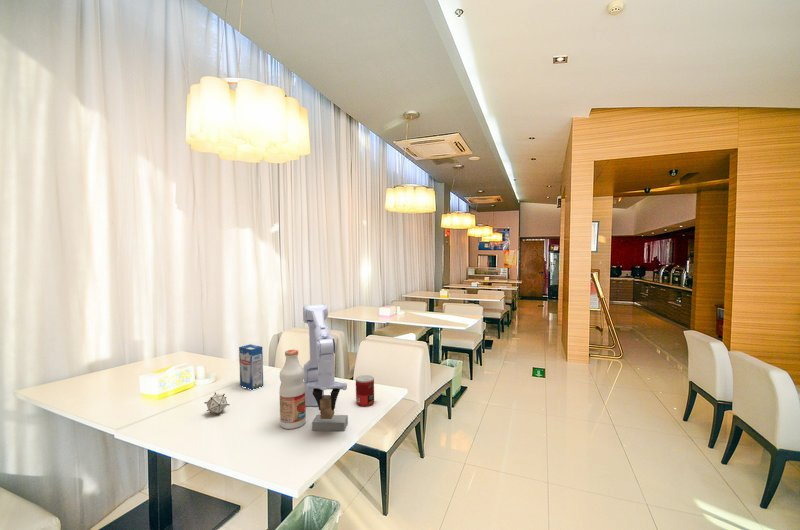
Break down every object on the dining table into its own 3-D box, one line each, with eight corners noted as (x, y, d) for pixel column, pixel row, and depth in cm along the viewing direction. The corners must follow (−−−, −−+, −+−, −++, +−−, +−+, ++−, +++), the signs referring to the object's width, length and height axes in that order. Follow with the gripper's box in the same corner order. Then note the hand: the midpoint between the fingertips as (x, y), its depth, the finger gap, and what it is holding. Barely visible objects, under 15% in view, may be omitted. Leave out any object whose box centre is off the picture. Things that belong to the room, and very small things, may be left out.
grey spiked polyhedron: (223, 420, 142) (238, 400, 143) (206, 422, 134) (222, 400, 135) (212, 406, 146) (226, 386, 147) (195, 407, 138) (211, 386, 139)
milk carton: (263, 386, 170) (262, 346, 169) (252, 390, 164) (251, 349, 164) (251, 382, 175) (250, 344, 175) (240, 386, 170) (238, 347, 169)
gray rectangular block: (312, 430, 125) (312, 422, 125) (317, 422, 131) (316, 414, 131) (344, 430, 125) (344, 422, 125) (347, 422, 131) (347, 415, 131)
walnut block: (320, 418, 122) (319, 399, 122) (323, 413, 126) (323, 394, 126) (331, 419, 122) (331, 399, 122) (334, 413, 126) (333, 394, 126)
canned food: (371, 407, 144) (371, 381, 144) (353, 406, 145) (353, 380, 145) (376, 400, 151) (376, 375, 151) (359, 398, 153) (358, 374, 153)
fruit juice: (281, 419, 134) (280, 348, 134) (306, 416, 136) (304, 347, 136) (278, 431, 125) (277, 355, 125) (305, 427, 127) (303, 353, 127)
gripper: (302, 375, 120) (303, 413, 120) (343, 375, 119) (344, 414, 119) (309, 369, 127) (310, 405, 127) (347, 369, 126) (348, 405, 126)
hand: (327, 409), depth 124 cm, fingers closed on walnut block, 4 cm apart
